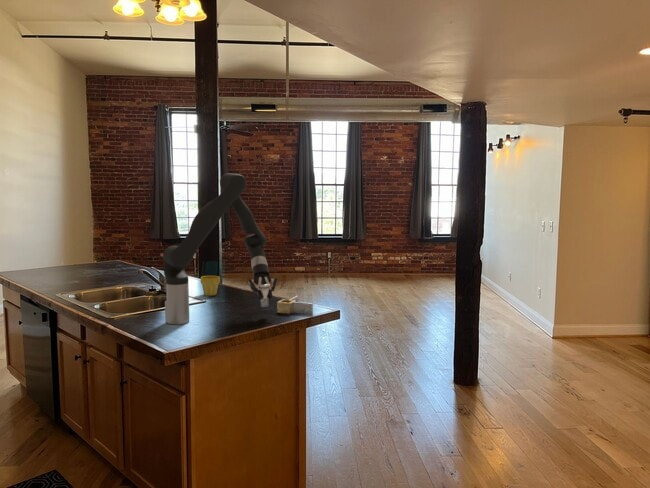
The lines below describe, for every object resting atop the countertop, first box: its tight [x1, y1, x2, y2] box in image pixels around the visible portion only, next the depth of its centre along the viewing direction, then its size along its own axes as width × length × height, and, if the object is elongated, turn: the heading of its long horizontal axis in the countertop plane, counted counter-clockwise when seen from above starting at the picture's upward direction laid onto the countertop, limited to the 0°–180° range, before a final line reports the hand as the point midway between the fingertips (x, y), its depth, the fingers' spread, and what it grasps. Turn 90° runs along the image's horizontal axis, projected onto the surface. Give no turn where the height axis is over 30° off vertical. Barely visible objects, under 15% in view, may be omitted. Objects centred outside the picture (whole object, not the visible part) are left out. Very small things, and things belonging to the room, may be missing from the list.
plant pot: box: [200, 275, 221, 296], centre depth 269 cm, size 10×10×10 cm
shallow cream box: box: [276, 295, 314, 315], centre depth 233 cm, size 17×17×5 cm
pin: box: [259, 284, 271, 308], centre depth 220 cm, size 5×5×10 cm
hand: (265, 298), depth 218 cm, fingers closed on pin, 3 cm apart
